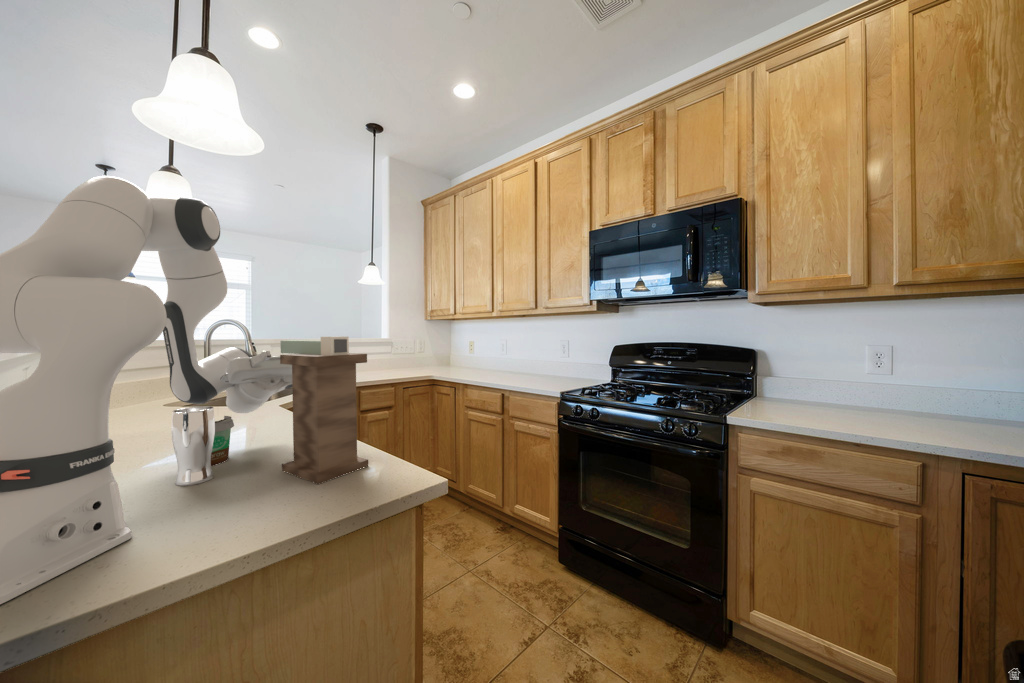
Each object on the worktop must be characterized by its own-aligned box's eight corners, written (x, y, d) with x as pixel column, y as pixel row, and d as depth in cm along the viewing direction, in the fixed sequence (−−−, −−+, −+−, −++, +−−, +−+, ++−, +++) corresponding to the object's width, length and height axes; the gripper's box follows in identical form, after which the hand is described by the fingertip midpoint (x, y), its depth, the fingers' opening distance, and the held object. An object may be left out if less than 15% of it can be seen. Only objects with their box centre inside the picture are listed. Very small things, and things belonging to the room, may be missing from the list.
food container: (197, 473, 82) (196, 428, 82) (175, 471, 84) (174, 427, 83) (247, 455, 95) (246, 416, 94) (227, 454, 96) (226, 415, 96)
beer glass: (217, 471, 83) (215, 404, 83) (214, 481, 78) (213, 409, 77) (175, 478, 80) (174, 408, 79) (169, 489, 74) (167, 414, 73)
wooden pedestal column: (282, 471, 84) (280, 354, 83) (332, 456, 94) (331, 352, 93) (317, 484, 76) (315, 356, 76) (368, 466, 86) (367, 353, 86)
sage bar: (278, 353, 91) (278, 336, 91) (295, 352, 95) (295, 336, 95) (332, 355, 79) (332, 336, 79) (349, 354, 83) (349, 336, 83)
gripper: (214, 370, 91) (236, 342, 84) (299, 365, 108) (323, 341, 102) (220, 394, 89) (243, 367, 83) (306, 384, 107) (330, 361, 100)
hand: (288, 352), depth 92 cm, fingers open, 8 cm apart
